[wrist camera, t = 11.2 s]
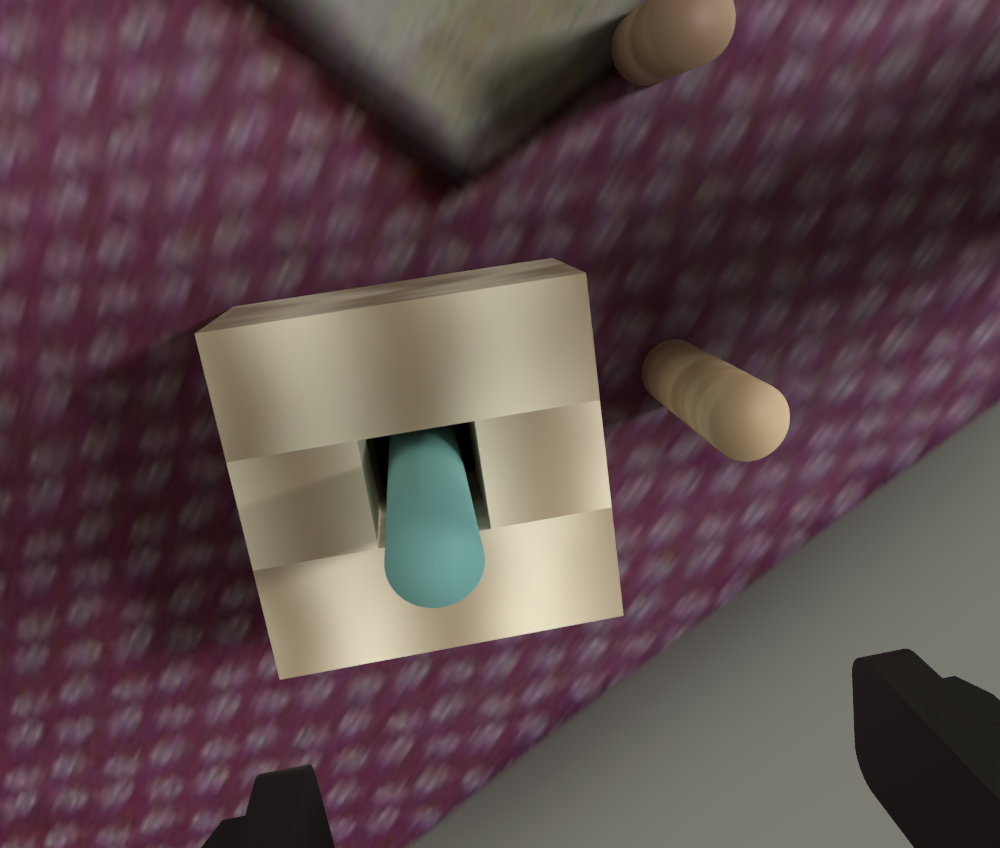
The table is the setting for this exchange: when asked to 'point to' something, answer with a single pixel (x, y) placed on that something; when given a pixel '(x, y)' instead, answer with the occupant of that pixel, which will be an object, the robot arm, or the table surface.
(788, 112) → the table surface
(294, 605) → the hole block
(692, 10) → the short pin
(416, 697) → the table surface
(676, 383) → the medium pin
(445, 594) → the long pin
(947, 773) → the robot arm
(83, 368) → the table surface
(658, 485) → the table surface
